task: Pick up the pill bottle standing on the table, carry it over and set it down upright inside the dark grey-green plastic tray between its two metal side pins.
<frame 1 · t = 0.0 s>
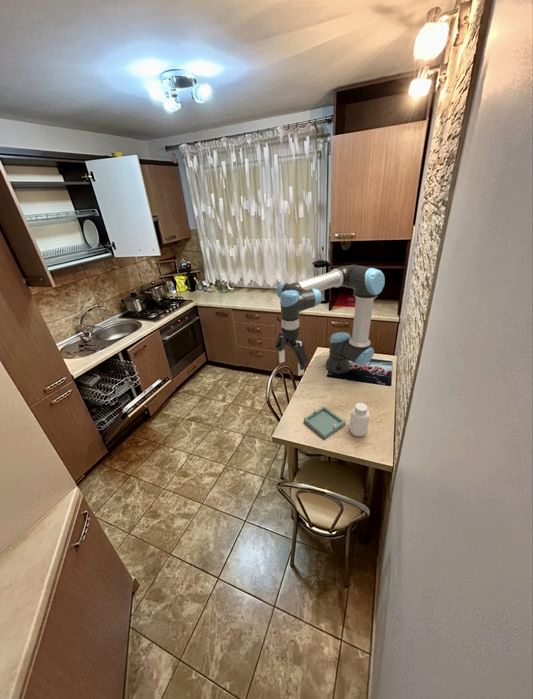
hand: (291, 368, 129), 28 cm above the table, fingers open, 13 cm apart
pill bottle: (357, 430, 130), on the table
tray: (324, 423, 135), on the table
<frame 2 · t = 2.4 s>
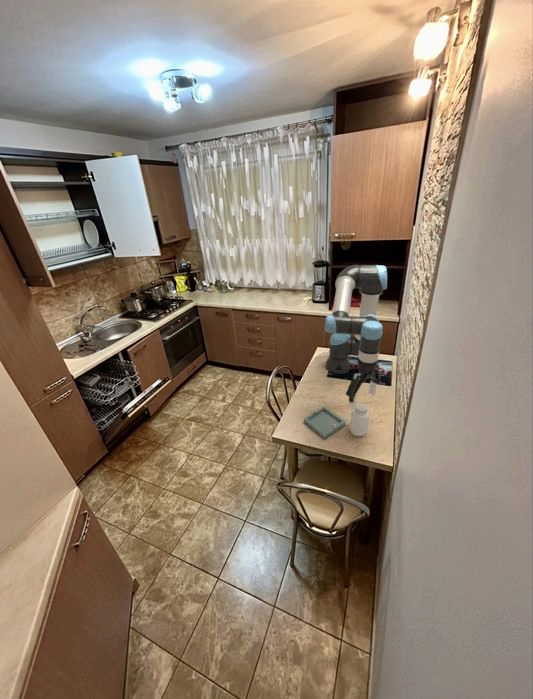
hand: (361, 400, 122), 18 cm above the table, fingers open, 13 cm apart
nothing on the table moved.
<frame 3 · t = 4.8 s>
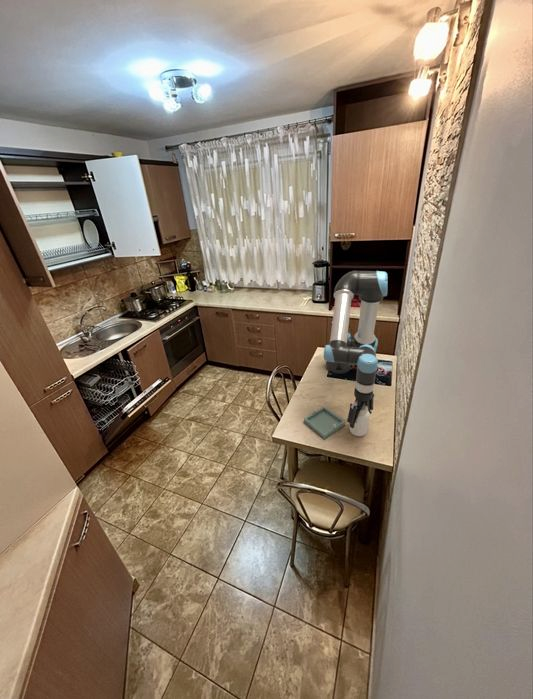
hand: (358, 427, 129), 2 cm above the table, fingers closed on pill bottle, 8 cm apart
pill bottle: (358, 430, 130), on the table, touching gripper
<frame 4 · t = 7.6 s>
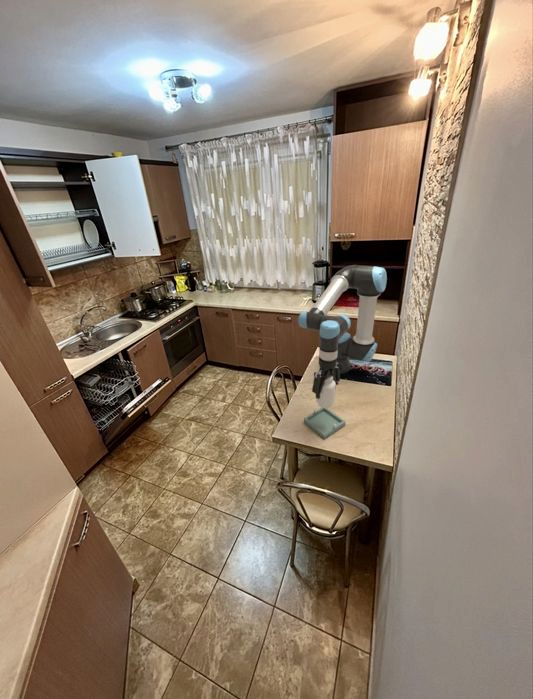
hand: (325, 398, 128), 16 cm above the table, fingers closed on pill bottle, 8 cm apart
pill bottle: (325, 402, 129), point 13 cm above the table, touching gripper
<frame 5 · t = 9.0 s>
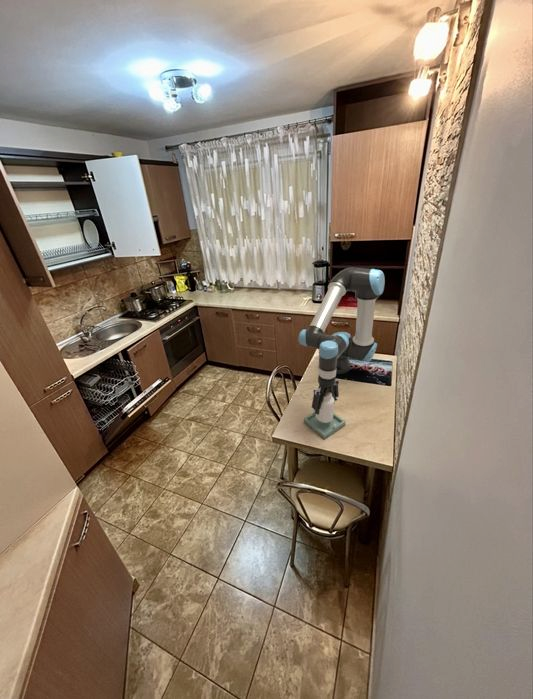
hand: (324, 413, 132), 6 cm above the table, fingers closed on pill bottle, 8 cm apart
pill bottle: (324, 417, 133), point 4 cm above the table, touching gripper
when the fingers open (5 cm above the table, at t = 10.3 s): pill bottle drops 2 cm, resting on tray.
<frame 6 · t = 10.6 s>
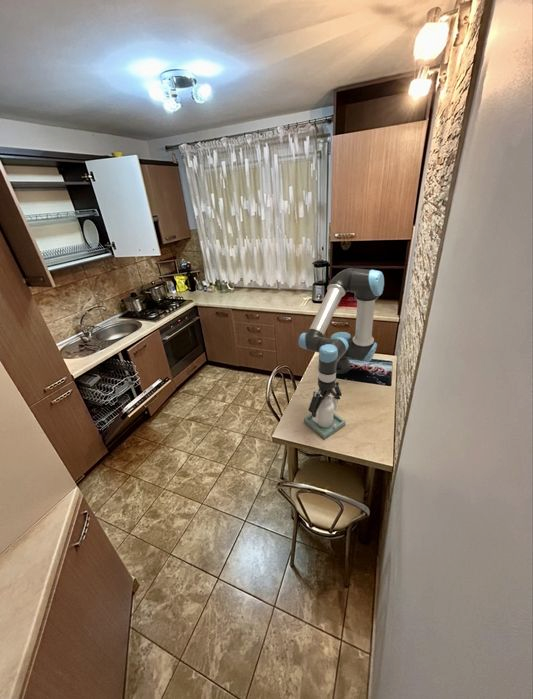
hand: (324, 414, 132), 6 cm above the table, fingers open, 12 cm apart
pill bottle: (324, 422, 135), point 1 cm above the table, touching tray
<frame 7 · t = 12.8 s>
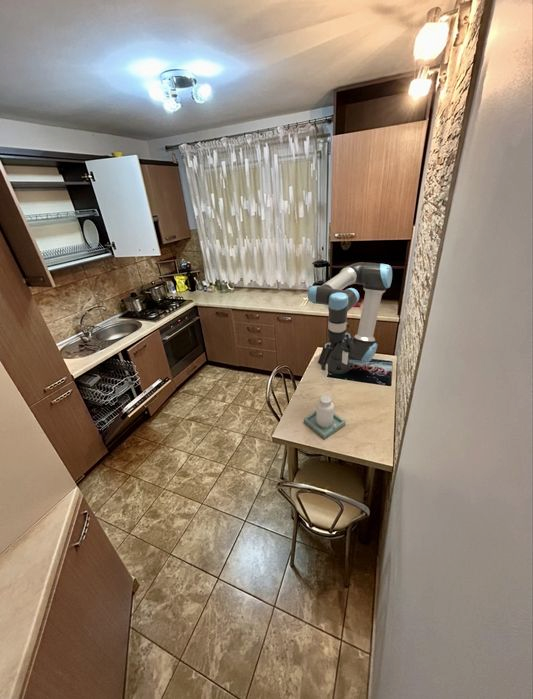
hand: (334, 368, 131), 26 cm above the table, fingers open, 13 cm apart
nothing on the table moved.
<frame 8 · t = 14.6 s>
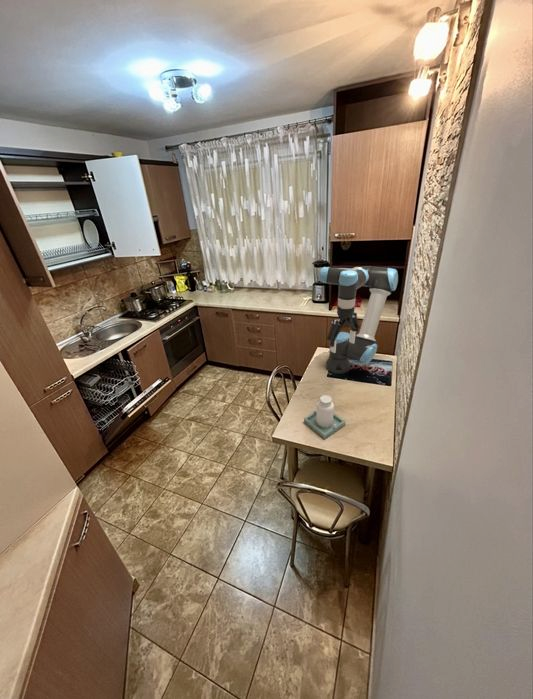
hand: (342, 347, 136), 32 cm above the table, fingers open, 13 cm apart
nothing on the table moved.
at the end: pill bottle inside the target area on the tray (0.1 cm from its centre), point 0.6 cm above the tray's base; pill bottle tilted 0°; the gripper is holding nothing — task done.
